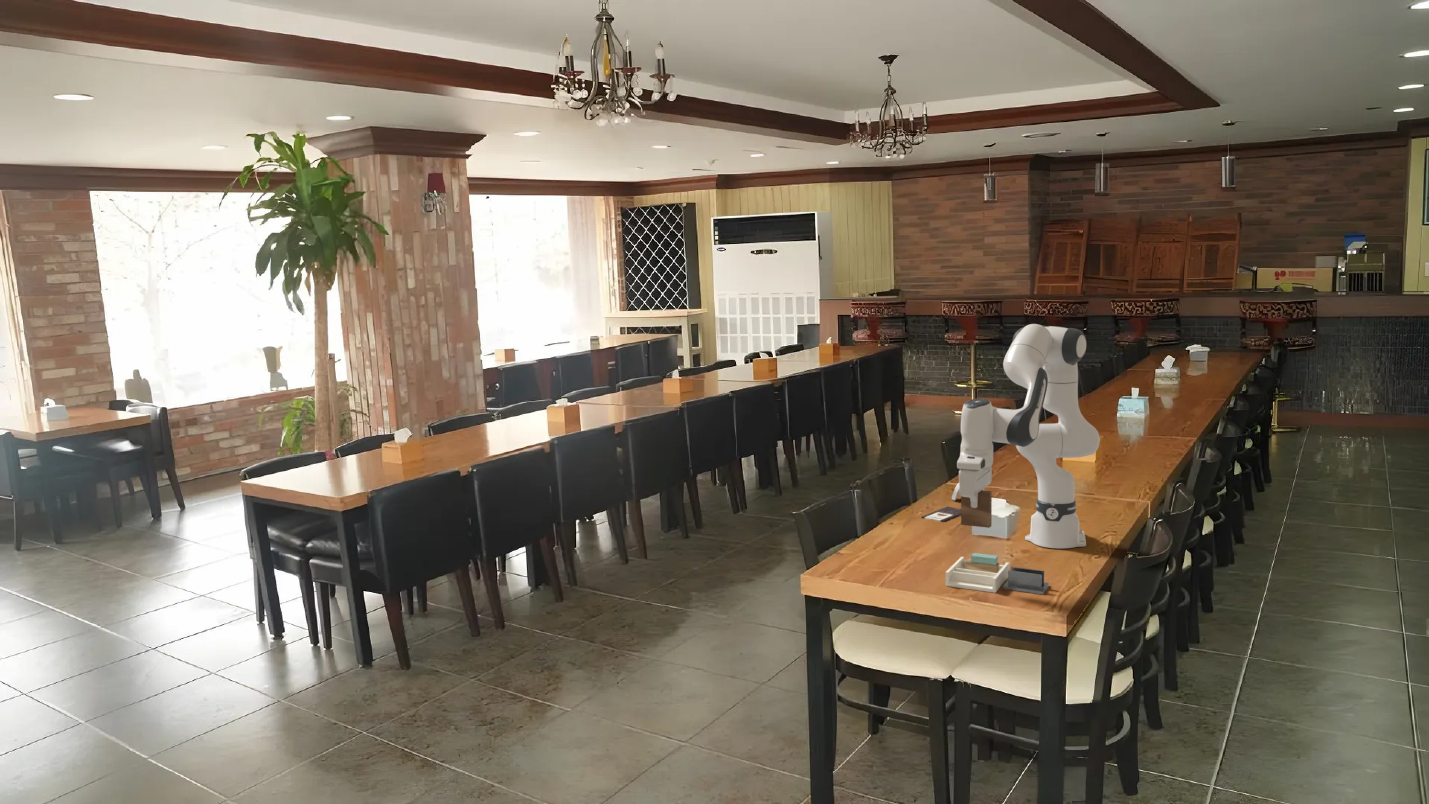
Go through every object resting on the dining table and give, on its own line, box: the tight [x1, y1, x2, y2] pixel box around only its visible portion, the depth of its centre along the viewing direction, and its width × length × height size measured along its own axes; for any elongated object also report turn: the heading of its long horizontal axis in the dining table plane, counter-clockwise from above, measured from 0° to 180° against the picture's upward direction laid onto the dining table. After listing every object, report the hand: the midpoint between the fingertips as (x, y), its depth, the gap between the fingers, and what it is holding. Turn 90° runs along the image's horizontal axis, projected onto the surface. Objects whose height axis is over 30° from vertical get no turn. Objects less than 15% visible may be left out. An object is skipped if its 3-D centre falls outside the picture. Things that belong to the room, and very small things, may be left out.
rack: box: [945, 556, 1010, 594], centre depth 277 cm, size 16×14×4 cm
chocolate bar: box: [921, 506, 961, 523], centre depth 349 cm, size 9×1×18 cm
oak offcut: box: [966, 558, 1000, 573], centre depth 281 cm, size 3×9×3 cm, turn 60°
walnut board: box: [960, 490, 993, 529], centre depth 271 cm, size 2×8×10 cm, turn 60°
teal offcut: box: [970, 552, 999, 565], centre depth 281 cm, size 3×7×2 cm, turn 60°
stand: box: [1002, 566, 1050, 595], centre depth 270 cm, size 8×11×5 cm
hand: (976, 505), depth 271 cm, fingers closed on walnut board, 2 cm apart
